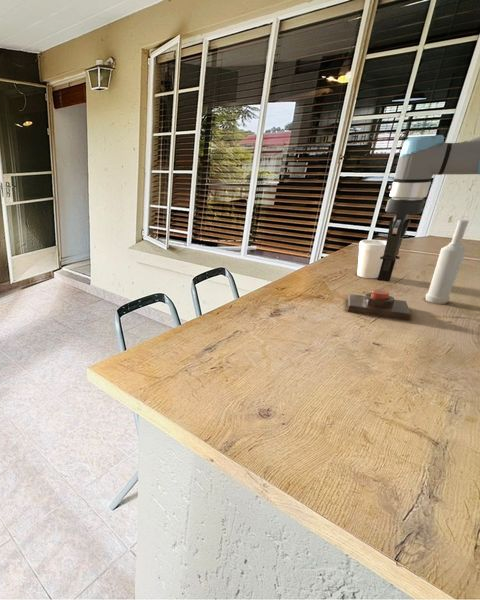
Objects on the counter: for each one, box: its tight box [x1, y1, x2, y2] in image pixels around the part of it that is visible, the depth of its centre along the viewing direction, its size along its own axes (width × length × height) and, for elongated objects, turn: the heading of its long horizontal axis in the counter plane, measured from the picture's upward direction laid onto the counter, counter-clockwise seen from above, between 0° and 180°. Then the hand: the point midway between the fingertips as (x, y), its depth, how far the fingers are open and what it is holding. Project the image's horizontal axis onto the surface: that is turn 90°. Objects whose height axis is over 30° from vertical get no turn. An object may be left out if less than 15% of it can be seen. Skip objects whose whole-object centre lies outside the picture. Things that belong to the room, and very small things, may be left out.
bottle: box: [425, 219, 470, 305], centre depth 105 cm, size 5×5×25 cm
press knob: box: [370, 289, 390, 300], centre depth 105 cm, size 4×4×2 cm
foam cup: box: [356, 239, 387, 279], centre depth 131 cm, size 10×9×13 cm
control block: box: [347, 292, 412, 321], centre depth 106 cm, size 14×11×4 cm
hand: (383, 280), depth 103 cm, fingers closed
